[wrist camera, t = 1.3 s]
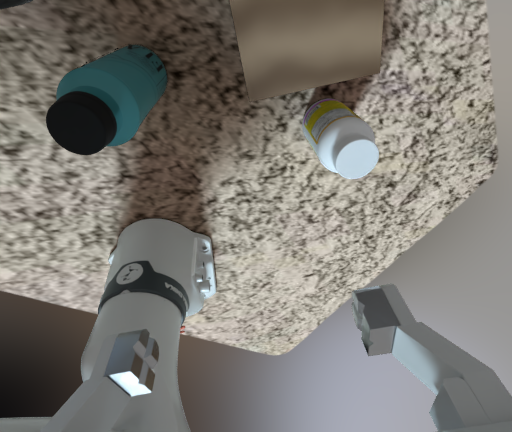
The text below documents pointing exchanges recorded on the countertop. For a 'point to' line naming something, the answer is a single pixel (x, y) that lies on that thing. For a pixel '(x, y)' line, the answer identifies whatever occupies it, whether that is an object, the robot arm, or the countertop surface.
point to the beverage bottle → (106, 100)
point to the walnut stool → (306, 43)
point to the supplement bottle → (340, 139)
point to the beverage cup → (12, 3)
